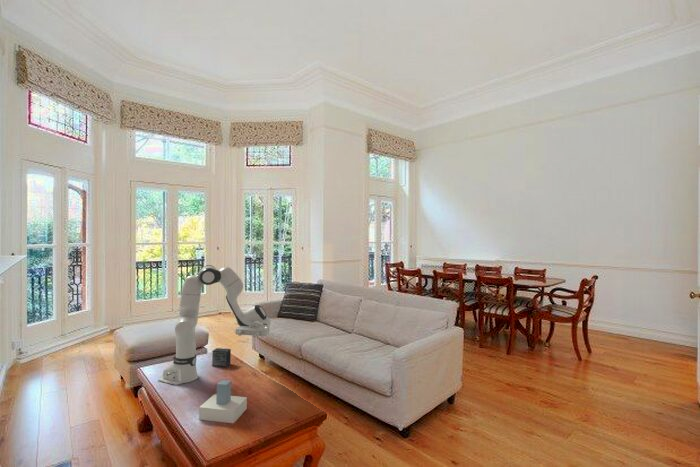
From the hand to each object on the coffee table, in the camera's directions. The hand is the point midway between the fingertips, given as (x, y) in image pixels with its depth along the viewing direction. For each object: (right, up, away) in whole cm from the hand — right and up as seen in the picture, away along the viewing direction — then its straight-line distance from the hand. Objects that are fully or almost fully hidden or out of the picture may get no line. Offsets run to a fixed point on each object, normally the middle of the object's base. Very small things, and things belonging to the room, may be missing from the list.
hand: (246, 334), depth 209 cm
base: (-2, -30, -33) cm, 45 cm away
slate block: (-2, -24, -33) cm, 41 cm away
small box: (-26, -29, +30) cm, 50 cm away
